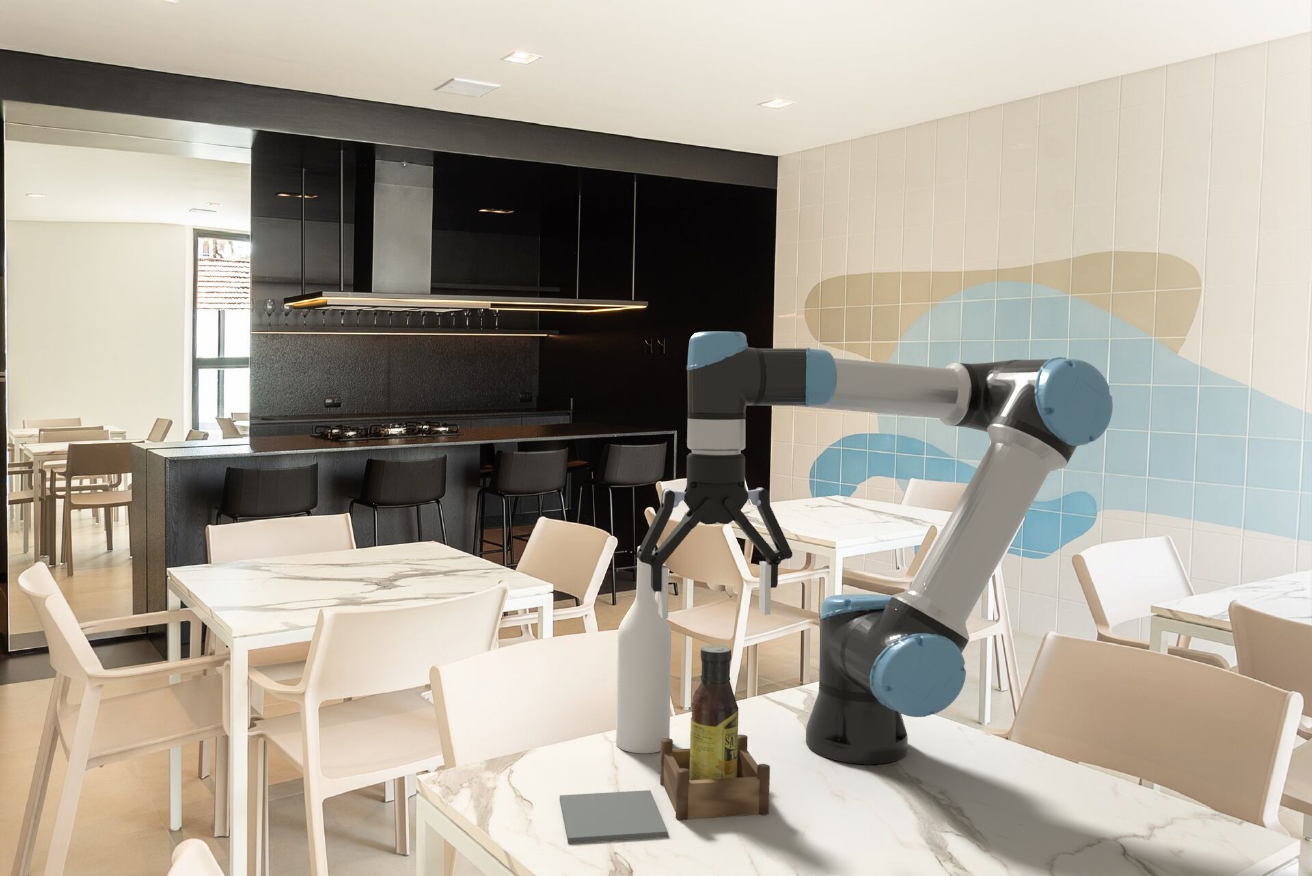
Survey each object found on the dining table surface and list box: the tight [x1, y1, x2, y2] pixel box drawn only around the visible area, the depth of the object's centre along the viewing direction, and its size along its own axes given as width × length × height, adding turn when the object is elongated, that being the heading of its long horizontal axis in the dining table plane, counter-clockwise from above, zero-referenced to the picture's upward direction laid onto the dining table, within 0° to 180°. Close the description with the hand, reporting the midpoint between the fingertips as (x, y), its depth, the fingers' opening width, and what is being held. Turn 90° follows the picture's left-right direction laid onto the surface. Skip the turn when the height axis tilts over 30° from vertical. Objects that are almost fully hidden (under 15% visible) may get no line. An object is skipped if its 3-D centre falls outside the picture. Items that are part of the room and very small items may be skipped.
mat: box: [559, 789, 669, 844], centre depth 122 cm, size 12×12×1 cm
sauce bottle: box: [689, 644, 739, 780], centre depth 128 cm, size 7×6×20 cm
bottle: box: [615, 545, 672, 754], centre depth 146 cm, size 8×8×30 cm
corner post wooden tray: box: [659, 734, 771, 821], centre depth 129 cm, size 12×12×6 cm
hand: (714, 614), depth 127 cm, fingers open, 13 cm apart
